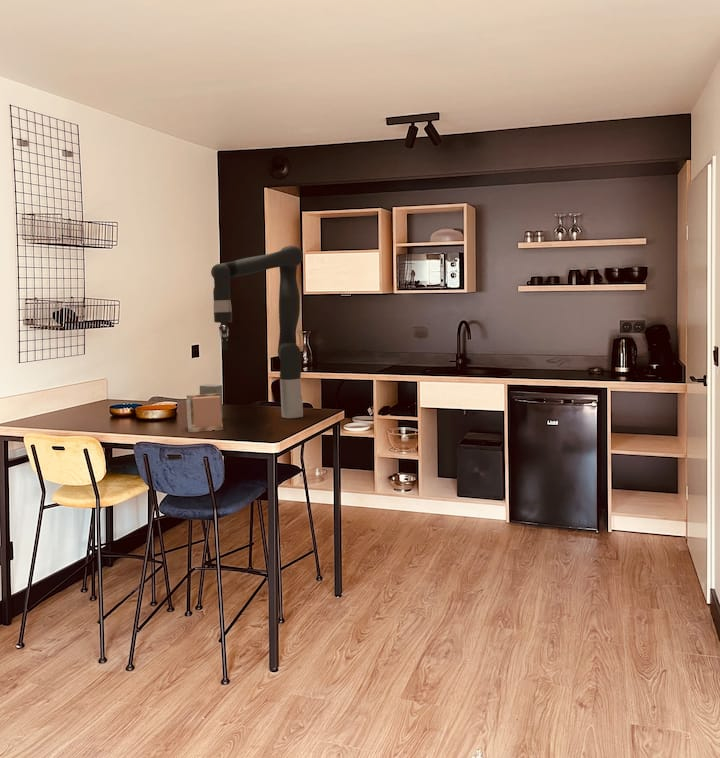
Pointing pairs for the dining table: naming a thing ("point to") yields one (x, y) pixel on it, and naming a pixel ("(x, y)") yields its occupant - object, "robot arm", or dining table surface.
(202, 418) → the terracotta book
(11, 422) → the dining table surface
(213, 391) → the skincare box
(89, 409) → the dining table surface
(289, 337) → the robot arm
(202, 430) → the plywood shelf
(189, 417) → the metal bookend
